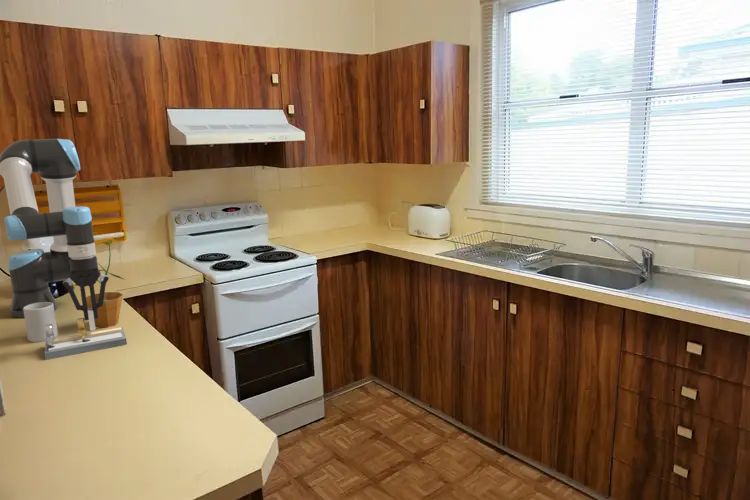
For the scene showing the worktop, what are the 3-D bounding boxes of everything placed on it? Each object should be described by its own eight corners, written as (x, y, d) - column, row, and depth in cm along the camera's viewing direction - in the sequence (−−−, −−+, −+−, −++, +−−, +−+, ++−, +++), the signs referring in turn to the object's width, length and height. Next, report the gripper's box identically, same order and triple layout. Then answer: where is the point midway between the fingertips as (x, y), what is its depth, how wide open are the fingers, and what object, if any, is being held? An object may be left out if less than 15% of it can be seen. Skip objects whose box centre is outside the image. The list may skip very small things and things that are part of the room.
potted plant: (122, 312, 201) (112, 233, 195) (141, 324, 188) (132, 239, 182) (69, 324, 189) (57, 241, 183) (86, 337, 176) (74, 248, 170)
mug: (56, 339, 175) (51, 307, 173) (25, 344, 172) (20, 311, 170) (61, 328, 186) (56, 297, 184) (32, 332, 183) (27, 301, 180)
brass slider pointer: (79, 333, 171) (76, 317, 170) (86, 332, 172) (83, 316, 171) (79, 341, 165) (77, 324, 164) (87, 339, 166) (84, 323, 165)
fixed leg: (47, 339, 167) (44, 323, 166) (54, 338, 168) (52, 322, 167) (46, 347, 161) (44, 331, 160) (54, 345, 162) (51, 329, 161)
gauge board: (46, 346, 169) (45, 337, 169) (123, 332, 180) (122, 324, 179) (45, 359, 159) (44, 350, 158) (126, 344, 169) (125, 335, 169)
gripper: (58, 261, 160) (69, 336, 165) (107, 256, 166) (116, 328, 171) (58, 257, 166) (69, 329, 171) (105, 252, 173) (114, 322, 178)
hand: (92, 329), depth 171 cm, fingers closed
